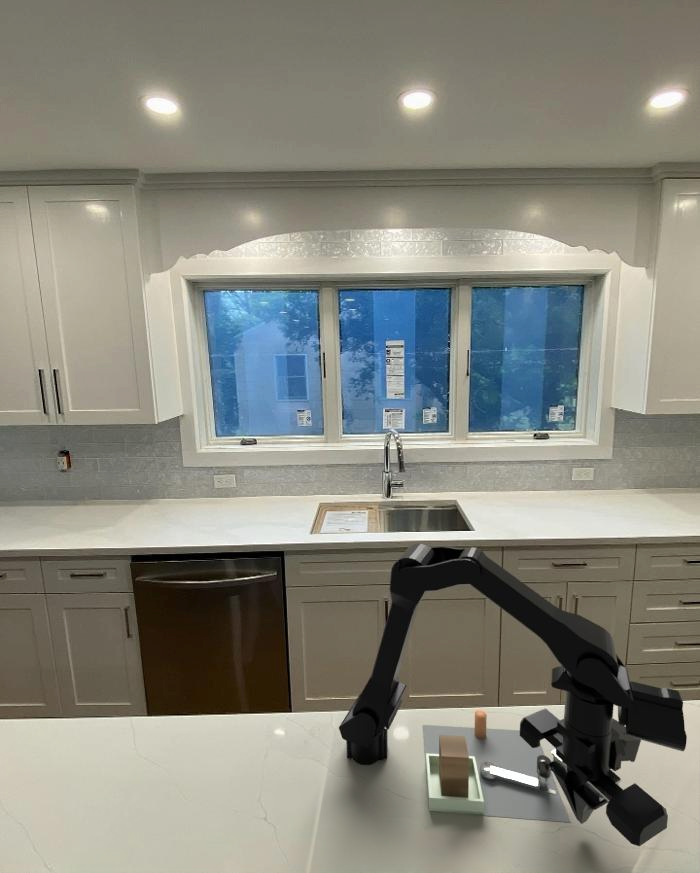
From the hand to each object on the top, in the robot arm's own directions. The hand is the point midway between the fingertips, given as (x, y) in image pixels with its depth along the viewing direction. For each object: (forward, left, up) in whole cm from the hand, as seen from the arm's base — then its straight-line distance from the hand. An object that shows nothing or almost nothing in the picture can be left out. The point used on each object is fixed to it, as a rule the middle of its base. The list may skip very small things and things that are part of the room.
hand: (581, 820), depth 63 cm
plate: (-11, +9, -3) cm, 15 cm away
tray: (-17, +5, -2) cm, 18 cm away
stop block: (-17, +5, -1) cm, 18 cm away
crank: (-7, +7, -1) cm, 10 cm away
